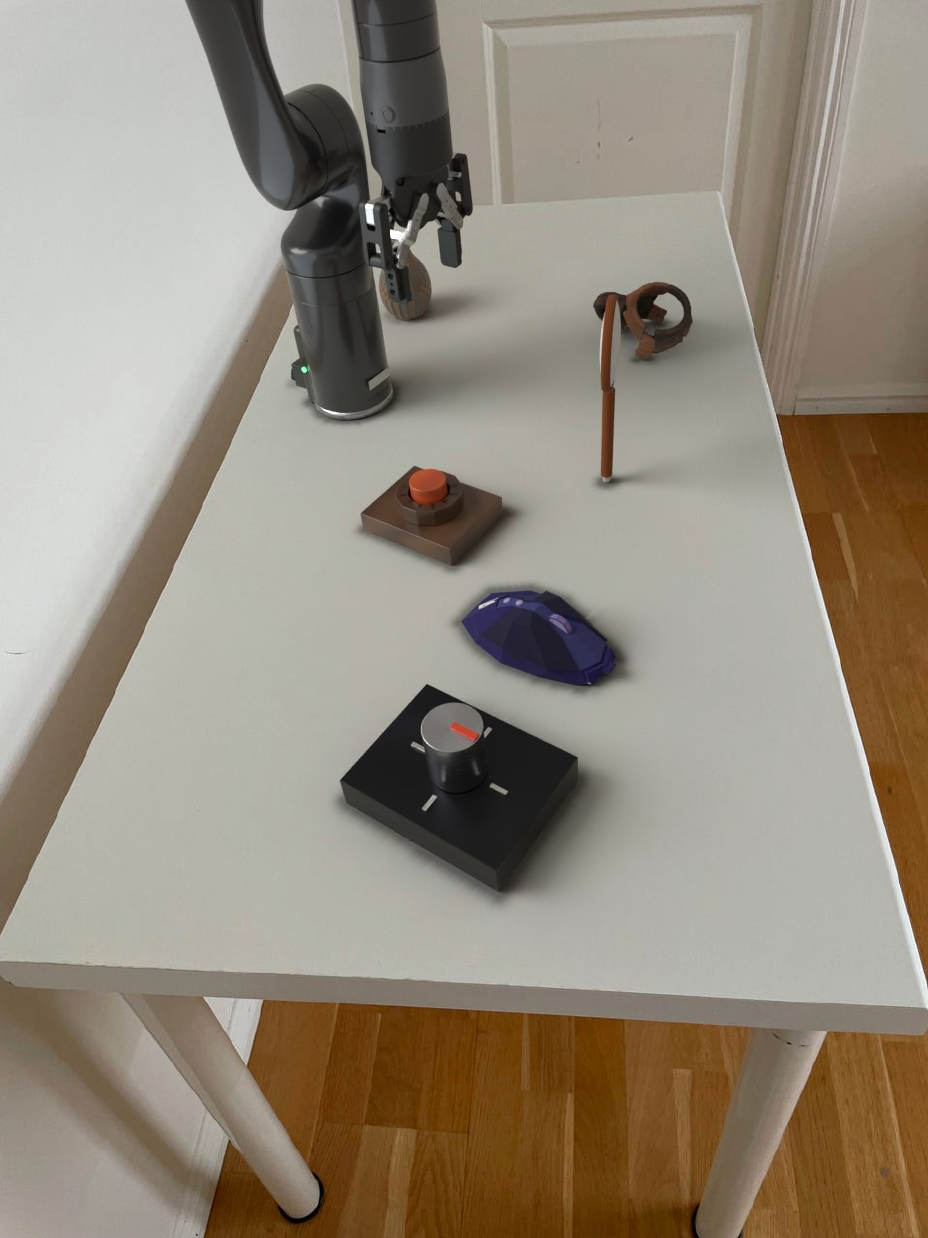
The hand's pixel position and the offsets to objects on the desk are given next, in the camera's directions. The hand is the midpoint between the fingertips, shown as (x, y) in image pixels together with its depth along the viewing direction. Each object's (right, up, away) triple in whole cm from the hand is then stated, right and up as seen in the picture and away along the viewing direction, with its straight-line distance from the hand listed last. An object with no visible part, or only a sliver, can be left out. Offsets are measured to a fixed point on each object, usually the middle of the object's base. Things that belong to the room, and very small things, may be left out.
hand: (427, 283), depth 94 cm
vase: (-4, +7, +32) cm, 33 cm away
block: (+1, -24, +1) cm, 24 cm away
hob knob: (+3, -45, -25) cm, 51 cm away
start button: (0, -21, -2) cm, 21 cm away
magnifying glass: (+18, -20, +3) cm, 27 cm away
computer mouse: (+11, -35, -12) cm, 39 cm away
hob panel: (+4, -47, -22) cm, 52 cm away
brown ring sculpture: (+26, +1, +22) cm, 34 cm away
